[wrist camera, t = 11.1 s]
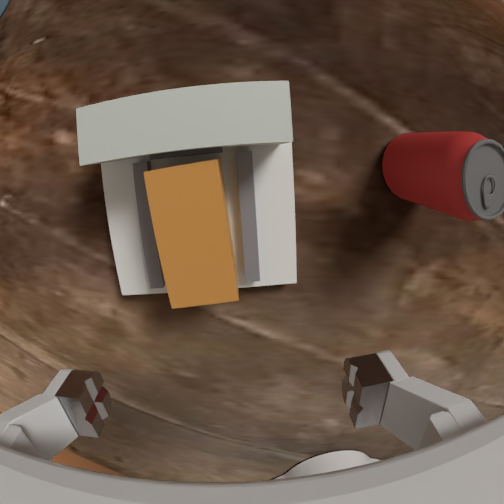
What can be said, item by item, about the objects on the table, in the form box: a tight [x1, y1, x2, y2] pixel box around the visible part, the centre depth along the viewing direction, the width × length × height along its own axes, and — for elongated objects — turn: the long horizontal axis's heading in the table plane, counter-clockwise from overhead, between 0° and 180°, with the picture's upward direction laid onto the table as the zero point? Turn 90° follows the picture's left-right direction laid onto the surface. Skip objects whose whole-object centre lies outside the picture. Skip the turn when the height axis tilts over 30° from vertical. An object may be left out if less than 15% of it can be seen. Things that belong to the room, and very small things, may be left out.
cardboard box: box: [144, 158, 239, 309], centre depth 24 cm, size 10×5×5 cm, turn 7°
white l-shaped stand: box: [76, 81, 297, 295], centre depth 24 cm, size 16×16×8 cm
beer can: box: [382, 131, 504, 221], centre depth 22 cm, size 7×7×12 cm
